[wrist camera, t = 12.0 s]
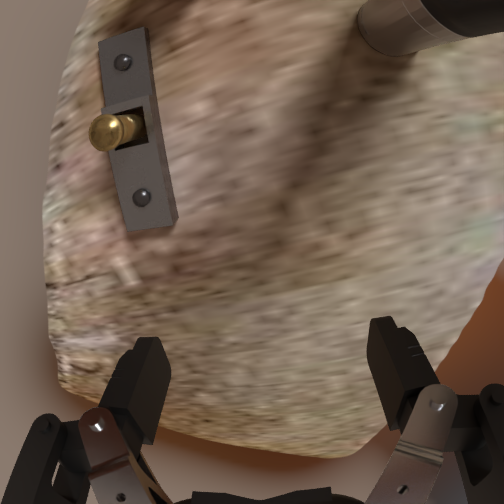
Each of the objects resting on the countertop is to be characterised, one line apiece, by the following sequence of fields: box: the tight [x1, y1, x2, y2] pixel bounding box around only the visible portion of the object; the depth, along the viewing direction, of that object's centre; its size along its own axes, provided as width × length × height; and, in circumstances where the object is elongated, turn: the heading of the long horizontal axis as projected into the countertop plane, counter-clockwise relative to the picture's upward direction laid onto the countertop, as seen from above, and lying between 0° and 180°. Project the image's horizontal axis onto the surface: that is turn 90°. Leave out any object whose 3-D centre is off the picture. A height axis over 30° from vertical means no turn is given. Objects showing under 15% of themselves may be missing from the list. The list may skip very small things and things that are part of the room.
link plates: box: [98, 27, 179, 232], centre depth 37 cm, size 7×28×4 cm, turn 7°
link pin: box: [89, 114, 147, 151], centre depth 34 cm, size 4×4×10 cm
